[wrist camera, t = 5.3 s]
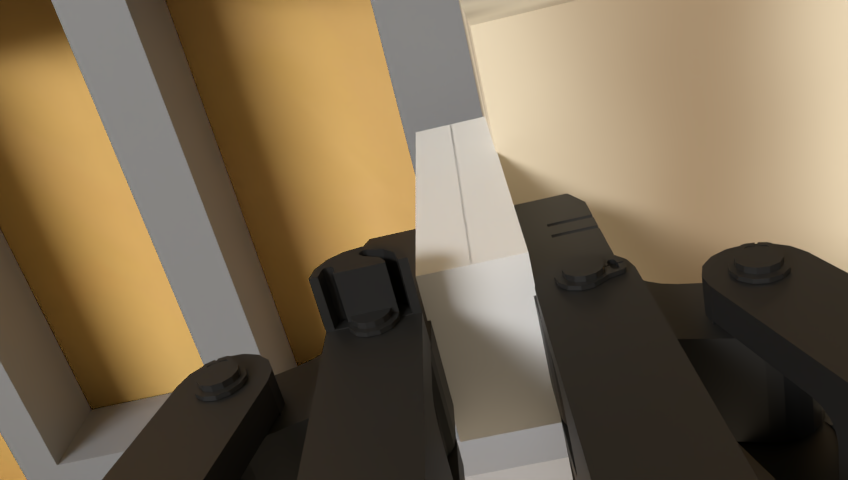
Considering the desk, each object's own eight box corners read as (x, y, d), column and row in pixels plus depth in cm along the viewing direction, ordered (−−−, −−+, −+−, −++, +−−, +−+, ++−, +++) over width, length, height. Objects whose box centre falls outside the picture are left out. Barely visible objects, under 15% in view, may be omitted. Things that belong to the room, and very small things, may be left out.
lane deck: (99, 490, 25) (20, 643, 20) (-217, -111, 18) (-467, -111, 13) (1153, 278, 22) (1369, 392, 17) (1289, -533, 15) (1730, -747, 10)
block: (517, 283, 19) (541, 375, 16) (457, -5, 16) (470, 25, 13) (806, 222, 19) (901, 304, 15) (795, -87, 16) (910, -80, 12)
